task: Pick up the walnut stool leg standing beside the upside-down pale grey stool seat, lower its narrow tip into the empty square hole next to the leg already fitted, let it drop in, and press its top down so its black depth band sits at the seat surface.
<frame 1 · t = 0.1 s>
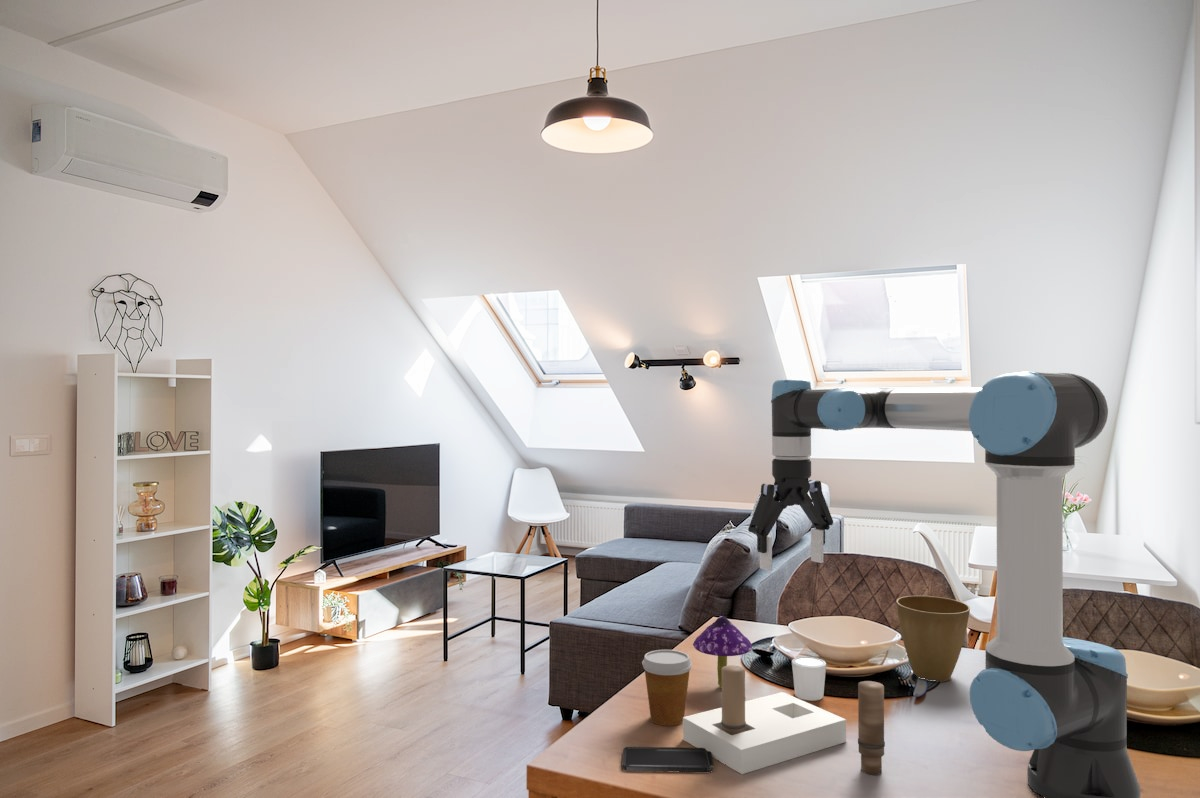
hand: (792, 565, 163), 28 cm above the table, tool pointing down, fingers open, 13 cm apart
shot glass: (809, 696, 170), on the table
decorative mushroom: (722, 688, 175), on the table
disposable coffee cup: (667, 720, 158), on the table
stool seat: (764, 740, 148), on the table
phone: (667, 764, 140), on the table
plant pot: (932, 677, 181), on the table
walnut leg: (871, 770, 136), on the table
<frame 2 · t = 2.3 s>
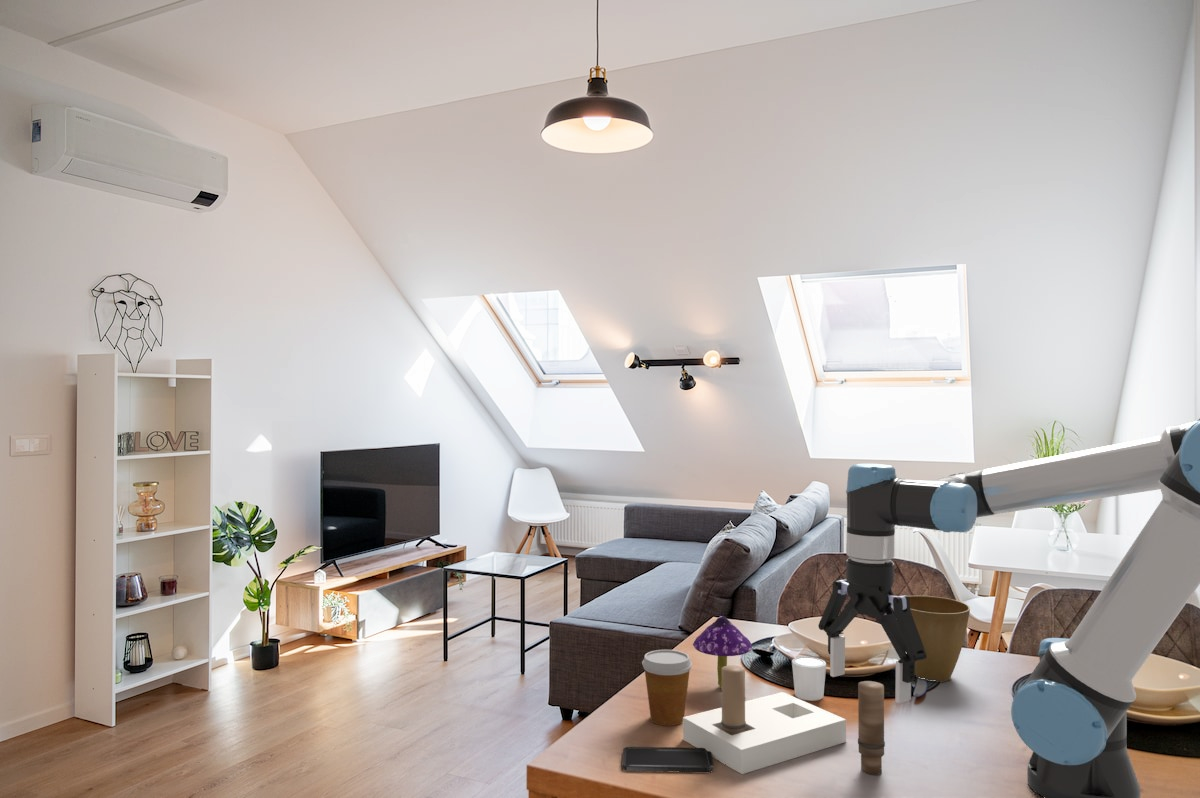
hand: (868, 687, 136), 13 cm above the table, tool pointing down, fingers open, 13 cm apart
nothing on the table moved.
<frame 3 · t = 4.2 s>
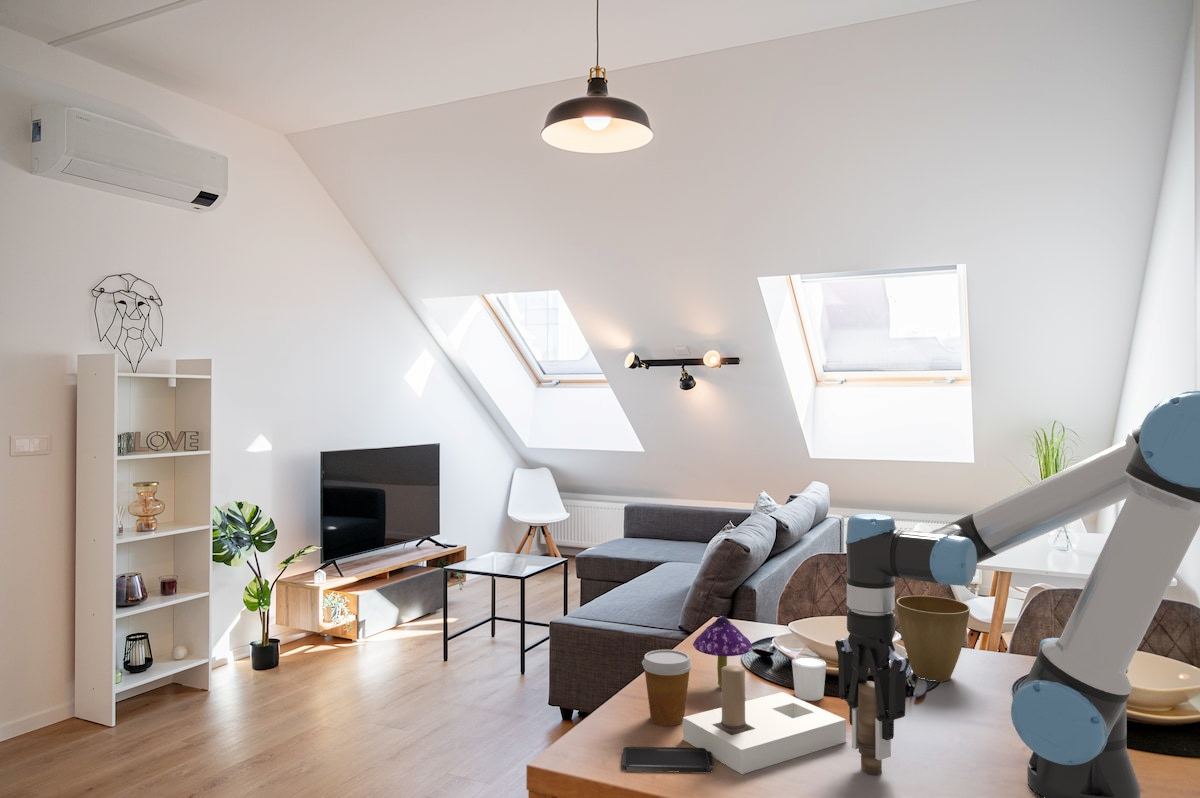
hand: (871, 751, 136), 3 cm above the table, tool pointing down, fingers closed on walnut leg, 4 cm apart
walnut leg: (871, 770, 136), on the table, touching gripper
everything else where it was.
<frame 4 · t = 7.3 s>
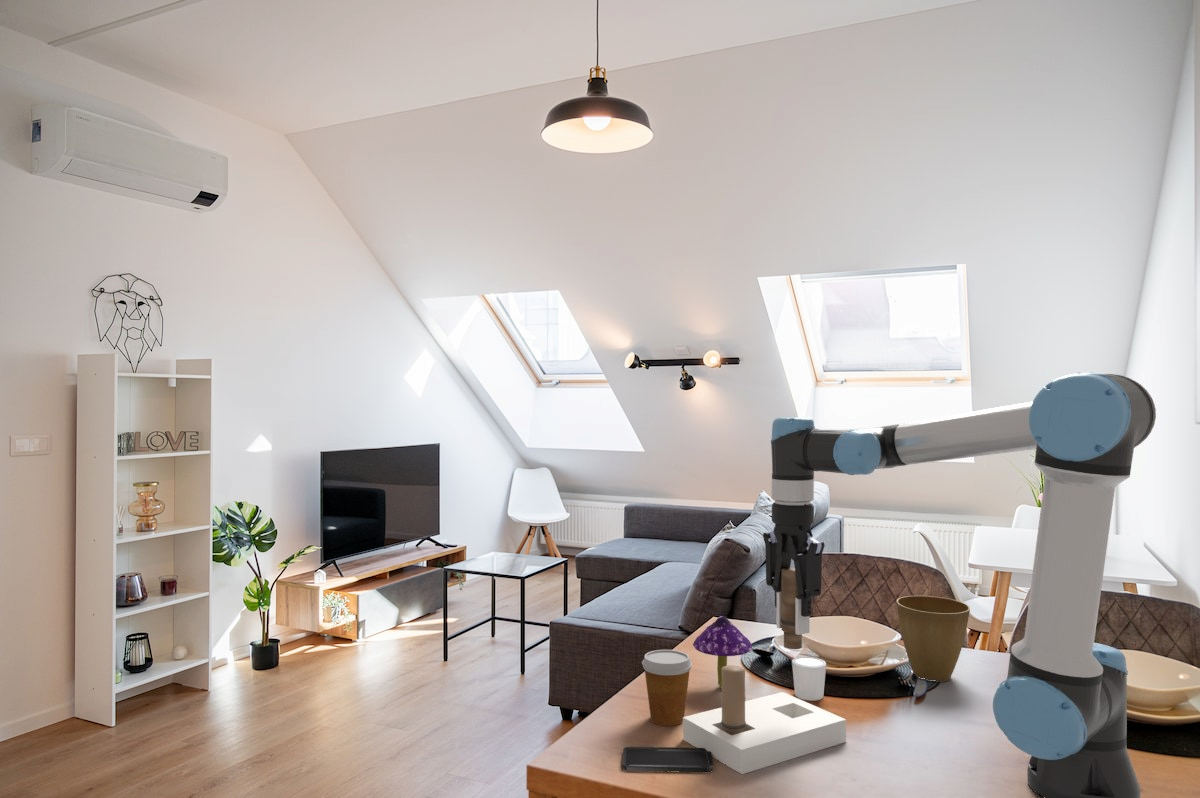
hand: (792, 629, 151), 19 cm above the table, tool pointing down, fingers closed on walnut leg, 4 cm apart
walnut leg: (792, 646, 151), point 16 cm above the table, touching gripper
everything else where it was.
when the fingers open (6 cm above the table, at t = 10.5 s): walnut leg drops 3 cm, resting in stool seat.
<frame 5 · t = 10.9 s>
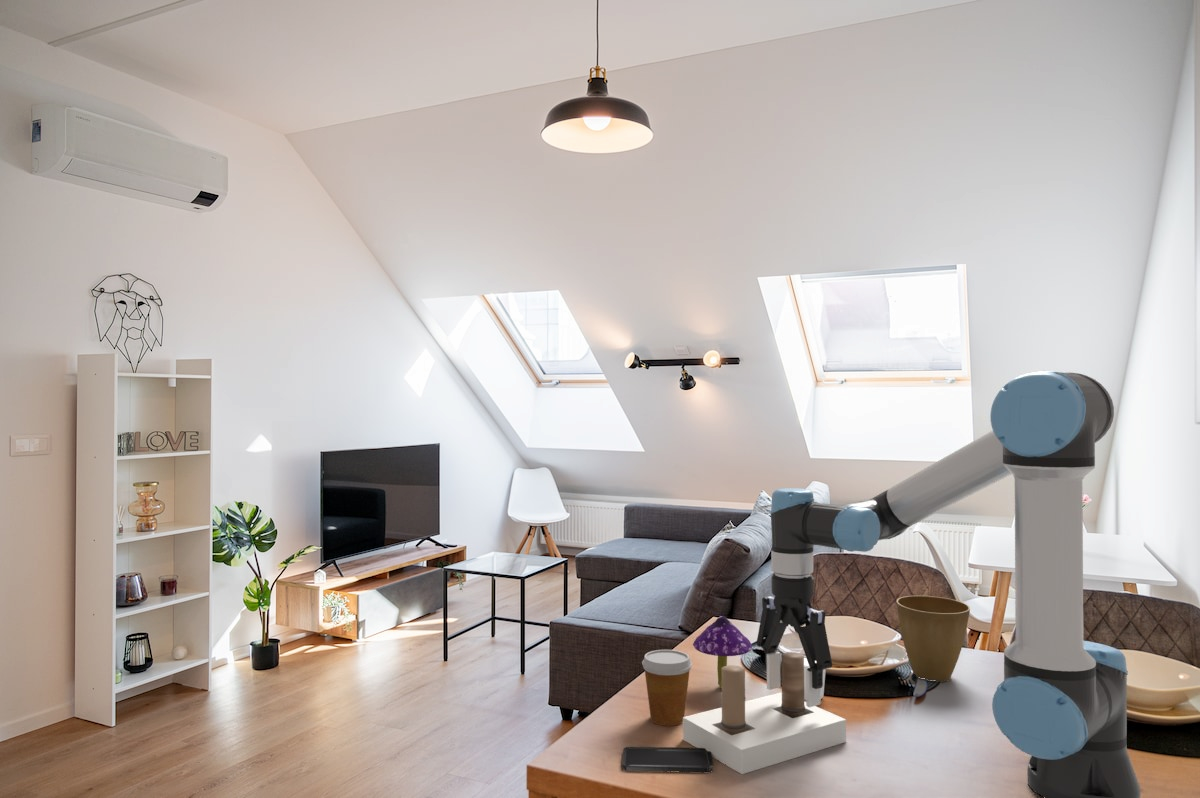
hand: (792, 696, 151), 7 cm above the table, tool pointing down, fingers open, 9 cm apart
walnut leg: (793, 732, 151), resting in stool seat
everything else where it was.
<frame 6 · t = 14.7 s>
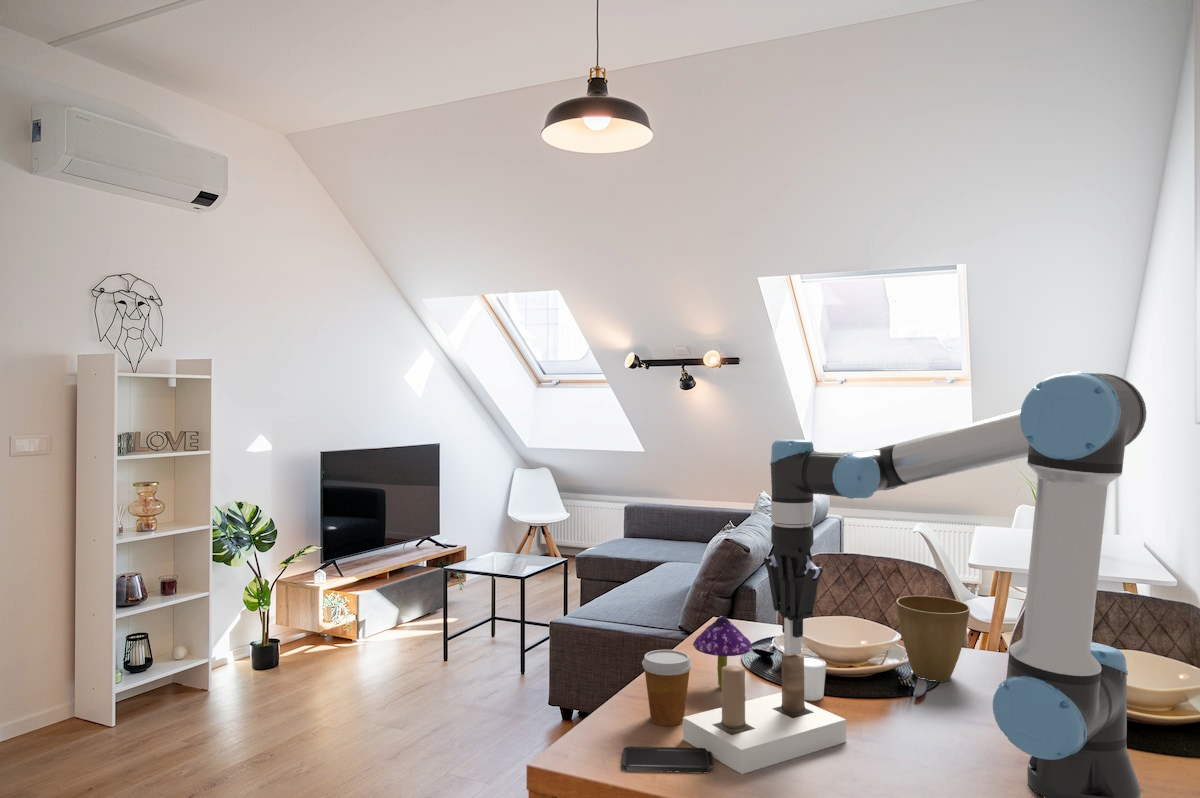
hand: (792, 653, 151), 14 cm above the table, tool pointing down, fingers closed
nothing on the table moved.
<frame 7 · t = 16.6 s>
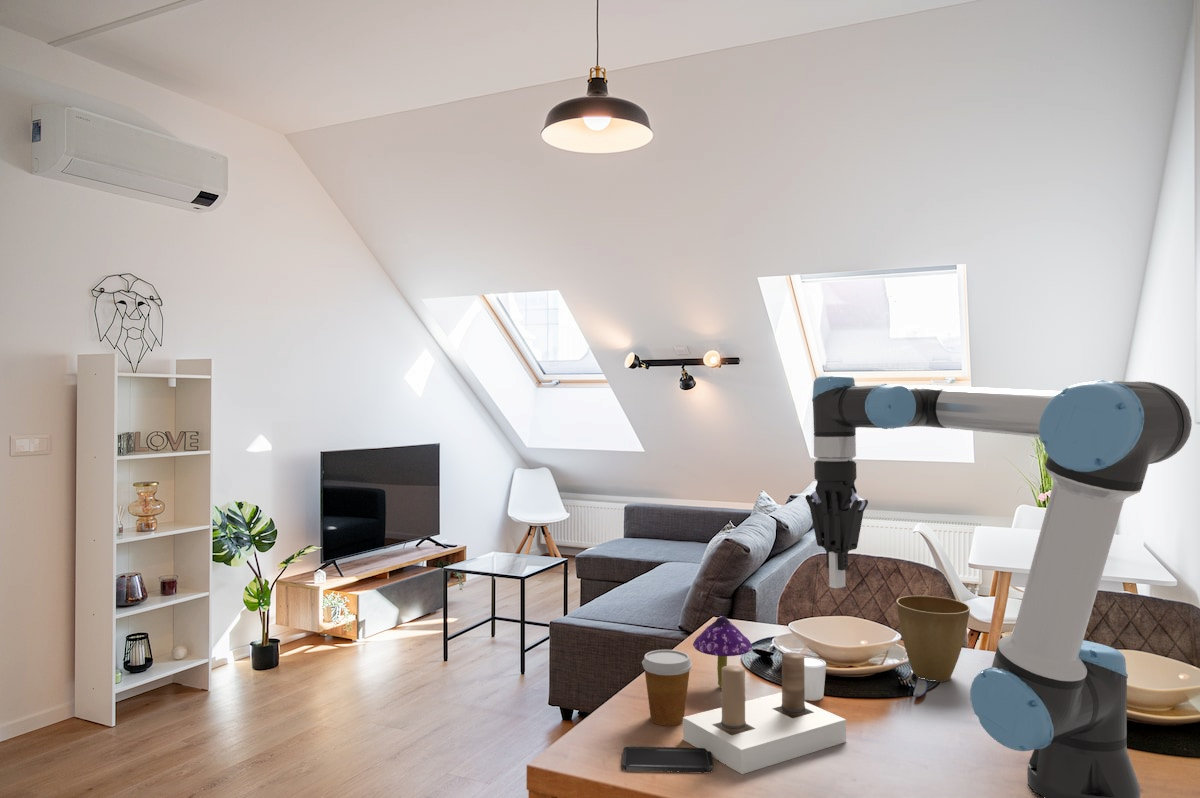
hand: (837, 586, 154), 26 cm above the table, tool pointing down, fingers closed
nothing on the table moved.
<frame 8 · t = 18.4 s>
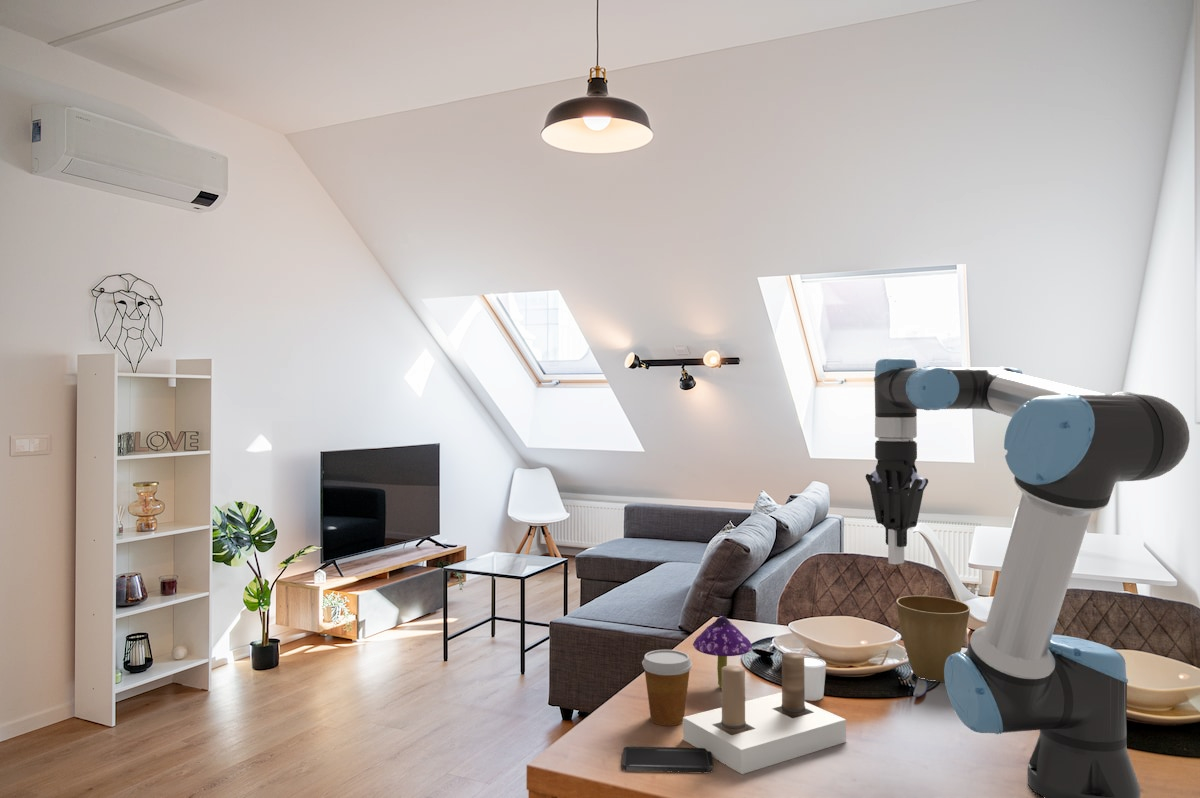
hand: (896, 563, 158), 29 cm above the table, tool pointing down, fingers closed
nothing on the table moved.
at the end: walnut leg 0.1 cm from the target spot on the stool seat, point 0.0 cm above the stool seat's base; walnut leg tilted 0°; the gripper is holding nothing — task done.
